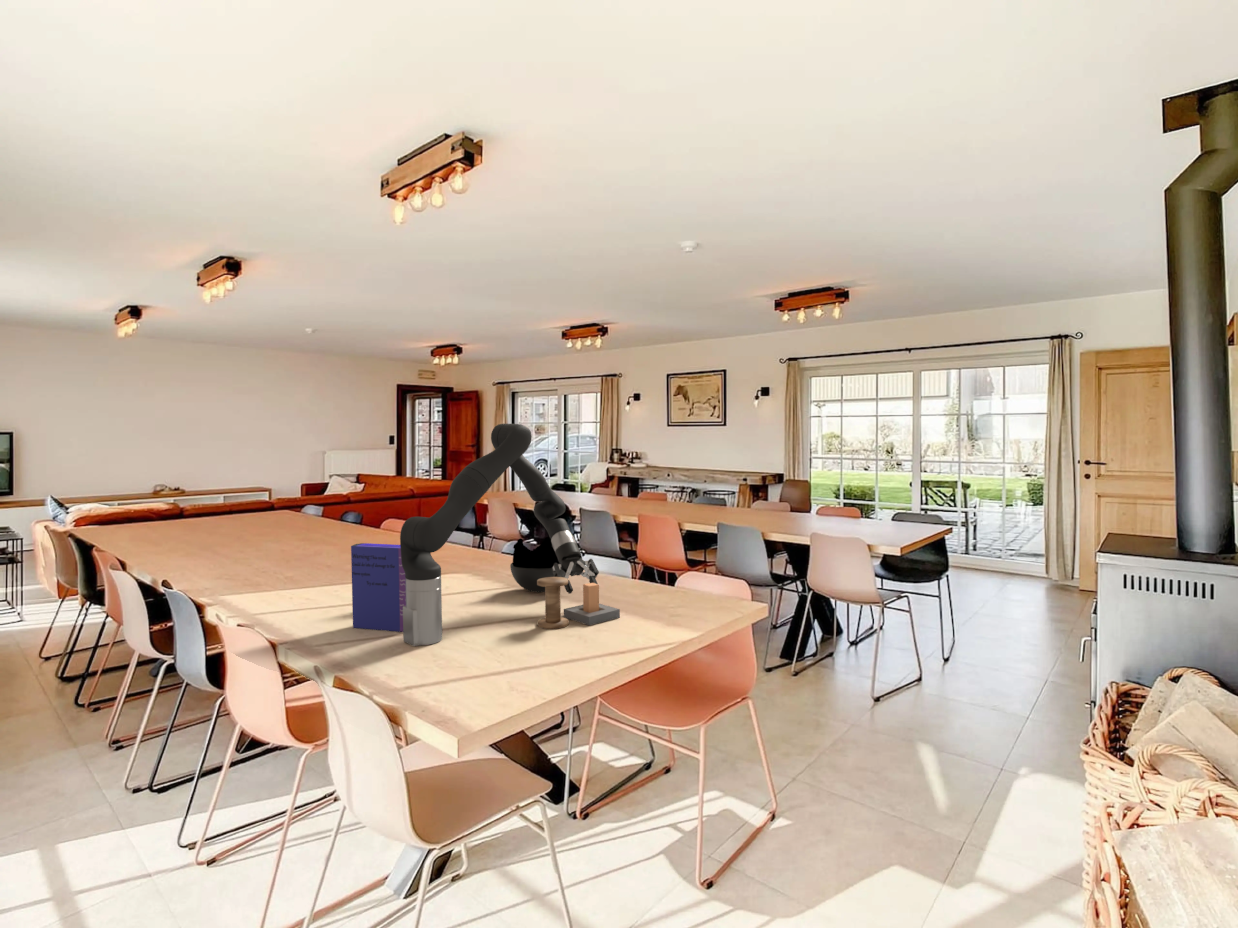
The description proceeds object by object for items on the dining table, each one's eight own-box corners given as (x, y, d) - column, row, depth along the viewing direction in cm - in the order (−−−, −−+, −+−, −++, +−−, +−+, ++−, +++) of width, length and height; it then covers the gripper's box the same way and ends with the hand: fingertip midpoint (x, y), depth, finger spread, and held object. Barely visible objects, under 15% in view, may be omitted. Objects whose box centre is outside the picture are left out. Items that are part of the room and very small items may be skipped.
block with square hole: (589, 625, 187) (589, 616, 187) (563, 617, 196) (563, 608, 196) (619, 617, 195) (619, 609, 195) (593, 609, 204) (593, 601, 204)
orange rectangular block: (588, 619, 193) (588, 586, 193) (583, 616, 196) (583, 584, 196) (599, 617, 195) (598, 584, 195) (593, 615, 198) (593, 582, 198)
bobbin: (549, 630, 182) (549, 585, 181) (531, 624, 188) (530, 580, 188) (574, 624, 188) (574, 580, 187) (556, 618, 194) (555, 575, 194)
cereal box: (415, 627, 186) (414, 544, 185) (406, 632, 181) (404, 547, 180) (363, 623, 190) (361, 542, 189) (352, 628, 186) (351, 545, 185)
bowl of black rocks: (578, 589, 232) (578, 537, 231) (543, 601, 215) (543, 545, 214) (535, 582, 243) (534, 533, 242) (498, 593, 226) (497, 540, 225)
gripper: (549, 543, 203) (566, 586, 194) (589, 538, 210) (607, 580, 201) (542, 557, 207) (559, 600, 198) (581, 552, 215) (599, 593, 206)
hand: (583, 590), depth 200 cm, fingers open, 8 cm apart
